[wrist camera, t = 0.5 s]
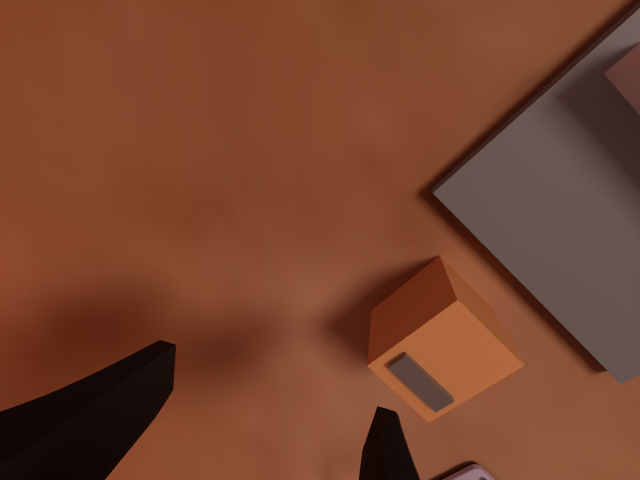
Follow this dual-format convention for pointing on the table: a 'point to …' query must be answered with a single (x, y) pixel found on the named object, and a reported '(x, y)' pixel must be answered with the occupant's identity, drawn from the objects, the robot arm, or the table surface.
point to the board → (569, 196)
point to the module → (438, 342)
